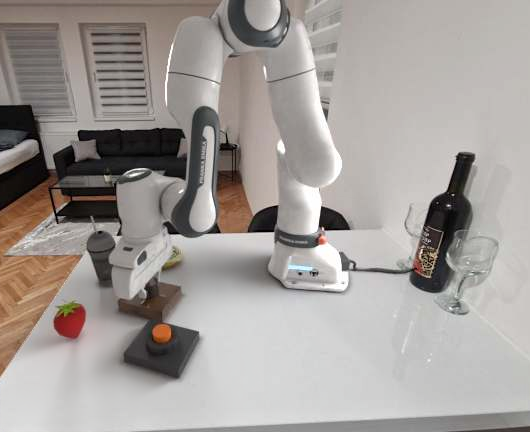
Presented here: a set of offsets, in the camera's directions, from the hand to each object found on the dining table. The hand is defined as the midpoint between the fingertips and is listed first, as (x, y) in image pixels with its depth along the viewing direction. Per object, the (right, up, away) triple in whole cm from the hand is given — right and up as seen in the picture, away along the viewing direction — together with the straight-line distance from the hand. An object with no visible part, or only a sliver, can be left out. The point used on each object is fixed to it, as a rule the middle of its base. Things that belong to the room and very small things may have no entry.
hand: (149, 290), depth 74 cm
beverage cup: (-14, 0, +10) cm, 17 cm away
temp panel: (0, -4, +2) cm, 4 cm away
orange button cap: (+6, -6, -13) cm, 16 cm away
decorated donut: (0, +4, +19) cm, 19 cm away
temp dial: (0, -1, 0) cm, 1 cm away
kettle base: (+6, -10, -12) cm, 16 cm away
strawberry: (-14, -8, -8) cm, 19 cm away
